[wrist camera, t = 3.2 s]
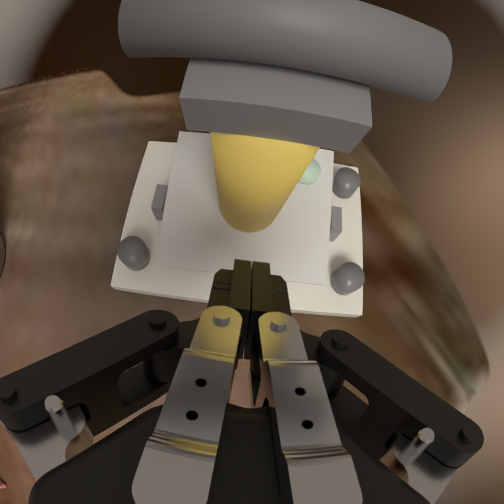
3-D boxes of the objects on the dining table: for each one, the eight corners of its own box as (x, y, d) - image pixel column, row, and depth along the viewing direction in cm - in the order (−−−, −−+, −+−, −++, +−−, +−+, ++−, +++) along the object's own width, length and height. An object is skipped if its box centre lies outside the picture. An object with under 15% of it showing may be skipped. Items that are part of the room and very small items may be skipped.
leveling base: (115, 289, 28) (100, 278, 24) (151, 149, 33) (144, 125, 29) (355, 317, 29) (374, 310, 25) (353, 175, 34) (366, 154, 31)
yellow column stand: (158, 265, 26) (-35, 190, 5) (181, 137, 28) (125, -76, 6) (321, 285, 27) (541, 263, 6) (329, 156, 29) (458, -21, 7)
